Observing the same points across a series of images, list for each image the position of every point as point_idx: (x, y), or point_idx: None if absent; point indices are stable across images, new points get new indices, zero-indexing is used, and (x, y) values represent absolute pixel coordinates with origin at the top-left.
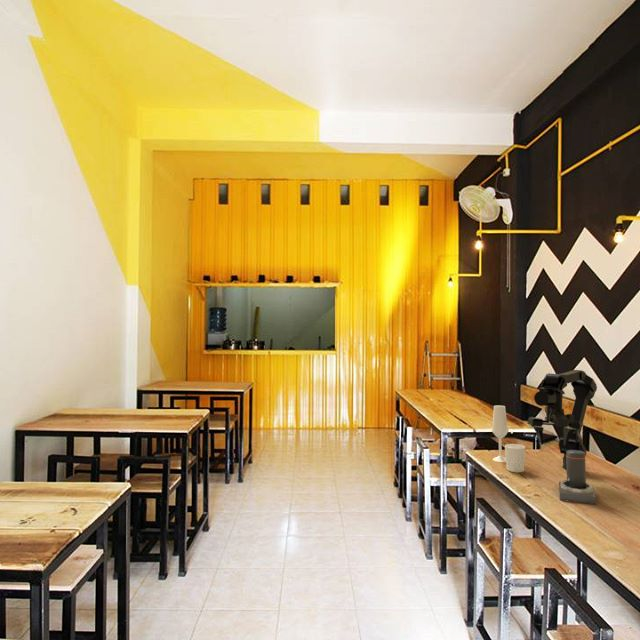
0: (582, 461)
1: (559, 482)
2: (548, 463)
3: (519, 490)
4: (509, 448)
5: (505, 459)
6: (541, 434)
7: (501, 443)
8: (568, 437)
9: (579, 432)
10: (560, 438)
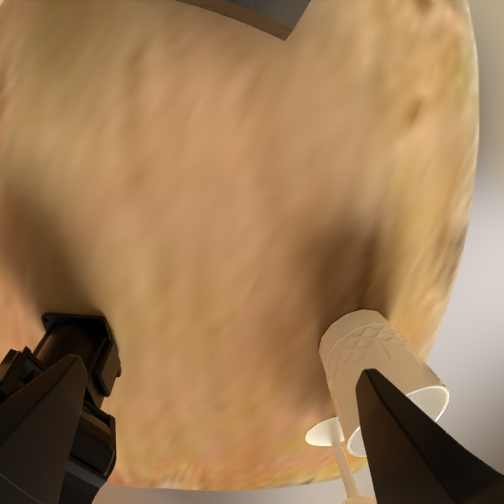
0: None
1: (298, 14)
2: (165, 412)
3: (463, 67)
4: (447, 389)
5: (323, 430)
6: (444, 458)
7: (345, 480)
8: (2, 416)
9: None
10: (98, 482)
